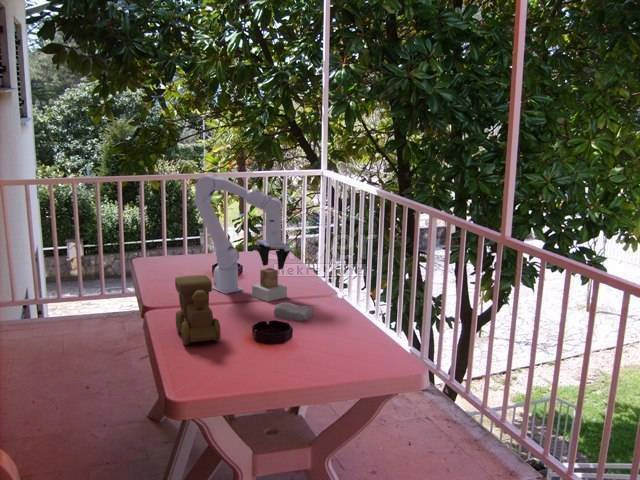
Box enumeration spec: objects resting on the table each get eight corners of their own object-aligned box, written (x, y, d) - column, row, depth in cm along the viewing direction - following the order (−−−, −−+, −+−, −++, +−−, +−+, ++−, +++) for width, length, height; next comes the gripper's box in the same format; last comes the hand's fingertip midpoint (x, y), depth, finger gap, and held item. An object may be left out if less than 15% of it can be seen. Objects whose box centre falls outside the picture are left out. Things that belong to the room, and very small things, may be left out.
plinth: (252, 295, 243) (252, 285, 242) (271, 291, 249) (271, 281, 248) (267, 301, 237) (267, 291, 236) (286, 297, 243) (286, 286, 242)
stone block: (284, 314, 230) (271, 317, 220) (286, 300, 229) (273, 303, 220) (315, 321, 225) (303, 324, 216) (317, 307, 225) (305, 309, 216)
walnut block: (260, 285, 242) (260, 269, 241) (270, 283, 245) (270, 267, 244) (267, 288, 239) (267, 272, 237) (277, 286, 242) (277, 270, 240)
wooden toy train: (173, 327, 210) (172, 276, 206) (209, 323, 214) (208, 273, 210) (184, 350, 191) (182, 295, 188) (223, 345, 195) (222, 291, 192)
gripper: (251, 229, 244) (251, 265, 247) (281, 235, 235) (280, 272, 238) (264, 227, 249) (264, 262, 252) (293, 232, 241) (293, 268, 244)
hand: (273, 266), depth 246 cm, fingers open, 7 cm apart
